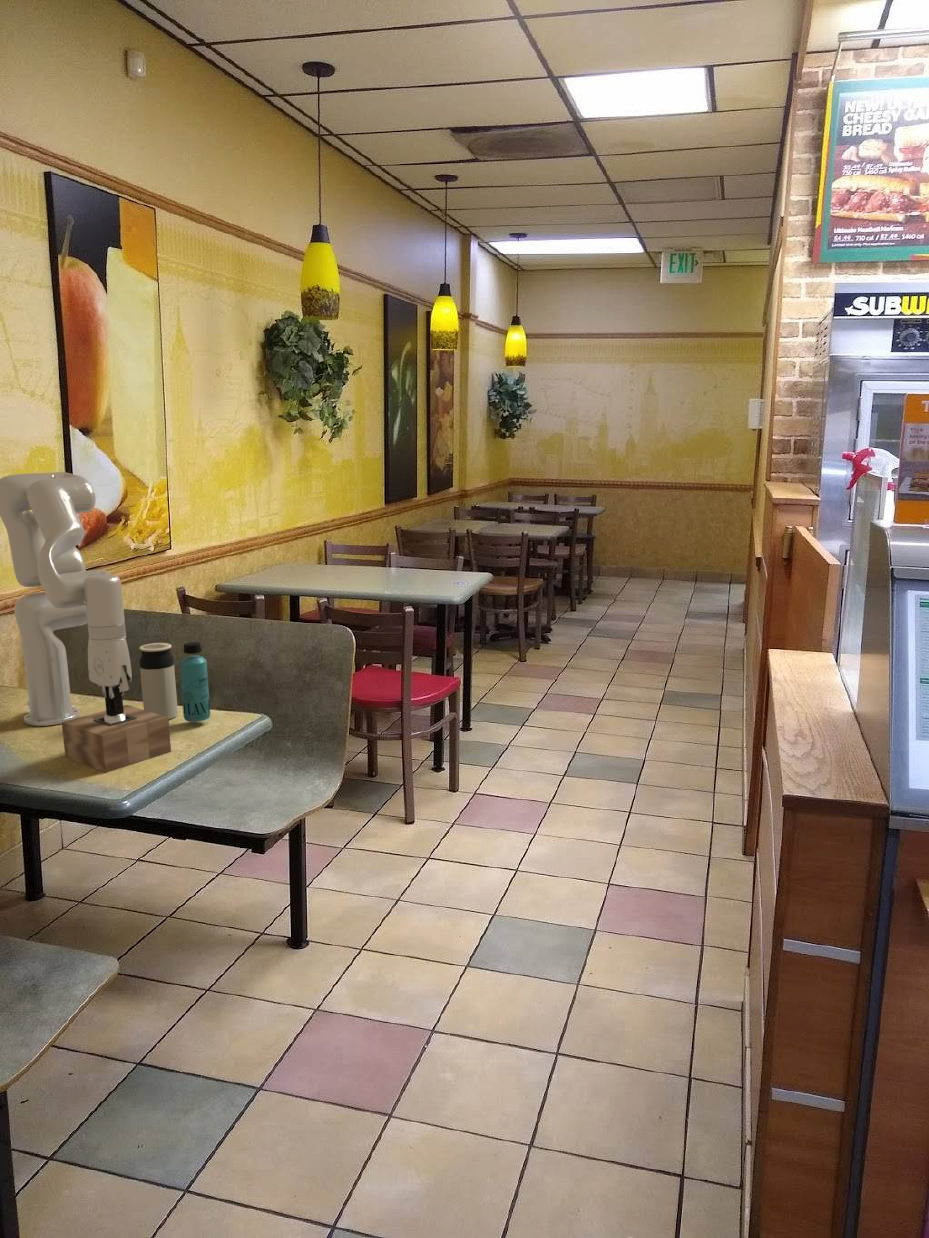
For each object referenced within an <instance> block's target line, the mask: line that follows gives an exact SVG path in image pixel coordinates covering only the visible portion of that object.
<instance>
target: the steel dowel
mask: <svg viewBox="0 0 929 1238" xmlns="http://www.w3.org/2000/svg"><path fill="white" fill-rule="evenodd" d="M104 719H105V722H108V723H111V724H112V723H116V722H119V721H123V720H126V714H125V712H123V713H122V714H119V715H115V716H110V715H107V714H105V715H104Z"/></svg>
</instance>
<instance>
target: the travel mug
mask: <svg viewBox="0 0 929 1238" xmlns="http://www.w3.org/2000/svg"><path fill="white" fill-rule="evenodd" d="M171 648H172V644H170V643H167V642H153V643H147V644H143V645H141V646H140V647H139V650H140V652H141V657H140V658H139V671H140V682H141V683H140V684H141V692H142V693H141V695H142V705H143V706H142V707H143V710H146V711H150V712H153V713H156V714H160V715H163V716H166V717H168V719H169V720H173V719H174V718H176V717H177V716H179V710H178V709H179V708H178V699H177V698H178V697H177V686H176V685H177V684H176V676H175V675H176V674H175V673H176V672H175V660H174V659H175V658H174V656H173V655H172V653H171Z"/></svg>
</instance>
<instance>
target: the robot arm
mask: <svg viewBox="0 0 929 1238" xmlns="http://www.w3.org/2000/svg"><path fill="white" fill-rule="evenodd" d="M95 505H96V493H95V490H94V488H93V487H92V484H91V483H90V481H89V480H87V478H85V477H83V476H81V475H78V474H73V473H70V472H66V471H65V472H63V471H62V472H61V471H59V472H57V471H56V472H53V471H52V472H38V473H36V472H35V473H17V474H10V475H7V476H3V477H1V478H0V519H1V520H2V523H3V525H4V527H5V530H6V531H7V532H6V533H7V537H8V543H9V547H10V554H11V561H12V565H13V566H12V567H13V570H14V571H13V572H14V575H15V578H16V581H17V582H18V584H19V585H20V586H22V587H25V588H38V587H39V588H40V587H41V588H42V589H43V591H38V592H32V593H28V594H25V595H23V596H21V597H20V598H19V599H18V600H17V601H16V602H15V604H14V610H13V612H14V616H15V621H16V624H17V626H18V627H17V628H18V630H19V634H20V639H21V644H22V651H23V660H24V661H23V662H24V669H25V677H26V678H25V680H26V685H27V686H26V687H27V696H28V697H27V698H28V700H27V702H26V705H27V707H29V712H28V713H26V714H25V715H24V717H23V722H24V724H26V725H29V726H34V727H35V726H36V727H41V726H43V727H45V726H55V725H62V722H64V721H68V720H72V719H76V718H79V716H80V711H79V709H77V708H75V707H72V706H73V705H72V699H71V697H72V696H71V688H70V687H71V686H70V678H69V677H70V676H69V670H68V658H67V650H66V646H65V645H64V643H63V641H62V640H61V639H60V638H58V637H57V636H56V635H55V634H54V631H59V630H62V629H69V628H74V627H75V628H76V627H79V626H80V627H81V626H83V625H86V624H87V631H88V641H87V642H88V643H87V668H88V669H87V670H88V679H89V681H90V682H91V683H92V684H93V683H94V684H96V685H97V686H99V687H100V688H101V690H102V691H101V692H102V695H103V698H104V700H105V701H104V702H105V710H106V714H107V715H110V716H115V715H119V714H122V713H123V712H124V710H123V706H124V702H123V701H124V700H123V697H124V692H126V691H129V690H130V688H129V686H130V685H129V684H130V683H131V682H132V675H133V674H132V665H131V657H130V651H129V647H128V643H127V639H126V638H127V633H126V631H127V630H126V621H125V620H126V619H125V609H124V599H123V587H122V586H123V585H122V582H121V581H122V580H121V577H119V576H118V575H117V574H113V573H110V572H109V571H108V570H105V569H92V570H86V569H87V567H86V564H85V559H84V557H83V554H82V553H81V551H80V550H79V549H78V548H77V546H78V545H79V544H81V542H83V539H84V537H85V528H84V527H83V524H82V522H81V520H80V518H79V516H78V514H86V513H89V512H91V511H93V509H94V508H95Z"/></svg>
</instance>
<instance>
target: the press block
mask: <svg viewBox="0 0 929 1238" xmlns="http://www.w3.org/2000/svg"><path fill="white" fill-rule="evenodd" d="M123 710H124V712H125V714H126V720H123V721H119V722H116V723H112V724H111V723H108V722H105V719H104V715H105V714H106V709H105V710H102V711H98V712H95V713H91V714H87V715H84V716H81V717H79V716H78V717H77V718H76V719H72V720H68V721H64V722H62V723H61V728H62V729H61V731H62V737H63V738H62V740H63V745H64V746H63V748H64V756H65V758H66V759H69V760H72V761H75V762H78V764H79V763H80V764H83V765H84V766H88V767H90V768H93V769H94V770H95V769H96V770H98V771H100V772H103V773H110V772H112V771H115V770H118V769H122V768H125V767H127V766H131V765H134V764H138V763H140V762H143V761H146V760H150V759H153V758H155V757H158V755H159V756H162V755H165V754H168V753H167V752H169V753H171V752H172V747H171V746H172V745H171V734H170V733H171V732H170V723H169V721H170V719H168V717H166V716H163V715H160V714H156V713H153V712H150V711H146V710H144V708H143V709H142V708H140V707H135V706H132V705H130V704H129V705H128V704H125V705H124V704H123ZM170 751H171V752H170ZM164 753H165V754H164ZM161 754H162V755H161Z"/></svg>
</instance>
